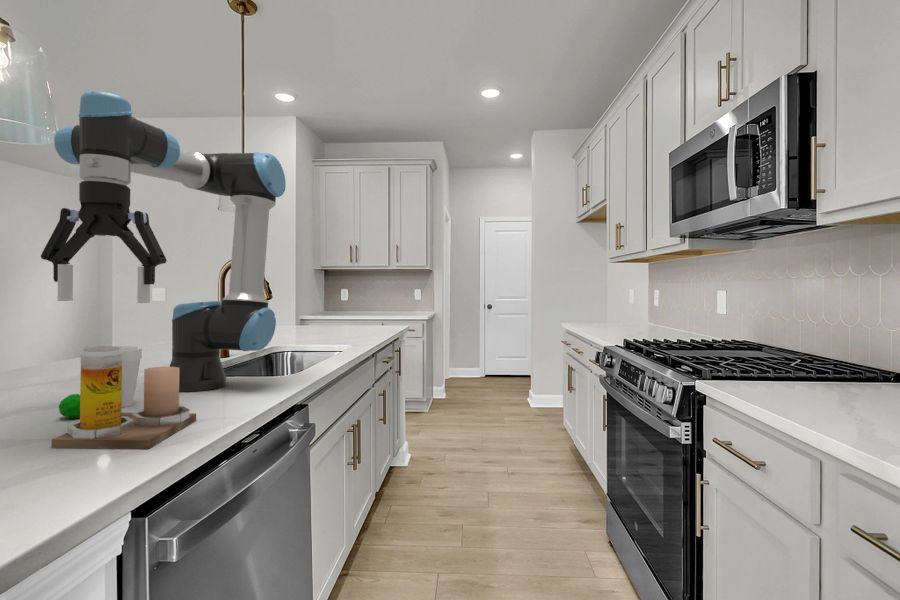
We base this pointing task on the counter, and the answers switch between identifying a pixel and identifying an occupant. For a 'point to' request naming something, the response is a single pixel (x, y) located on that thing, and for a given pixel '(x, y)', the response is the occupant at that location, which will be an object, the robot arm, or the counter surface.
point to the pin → (161, 391)
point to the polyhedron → (70, 406)
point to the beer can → (101, 387)
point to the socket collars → (126, 424)
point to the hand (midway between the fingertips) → (104, 302)
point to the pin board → (126, 437)
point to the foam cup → (129, 372)
